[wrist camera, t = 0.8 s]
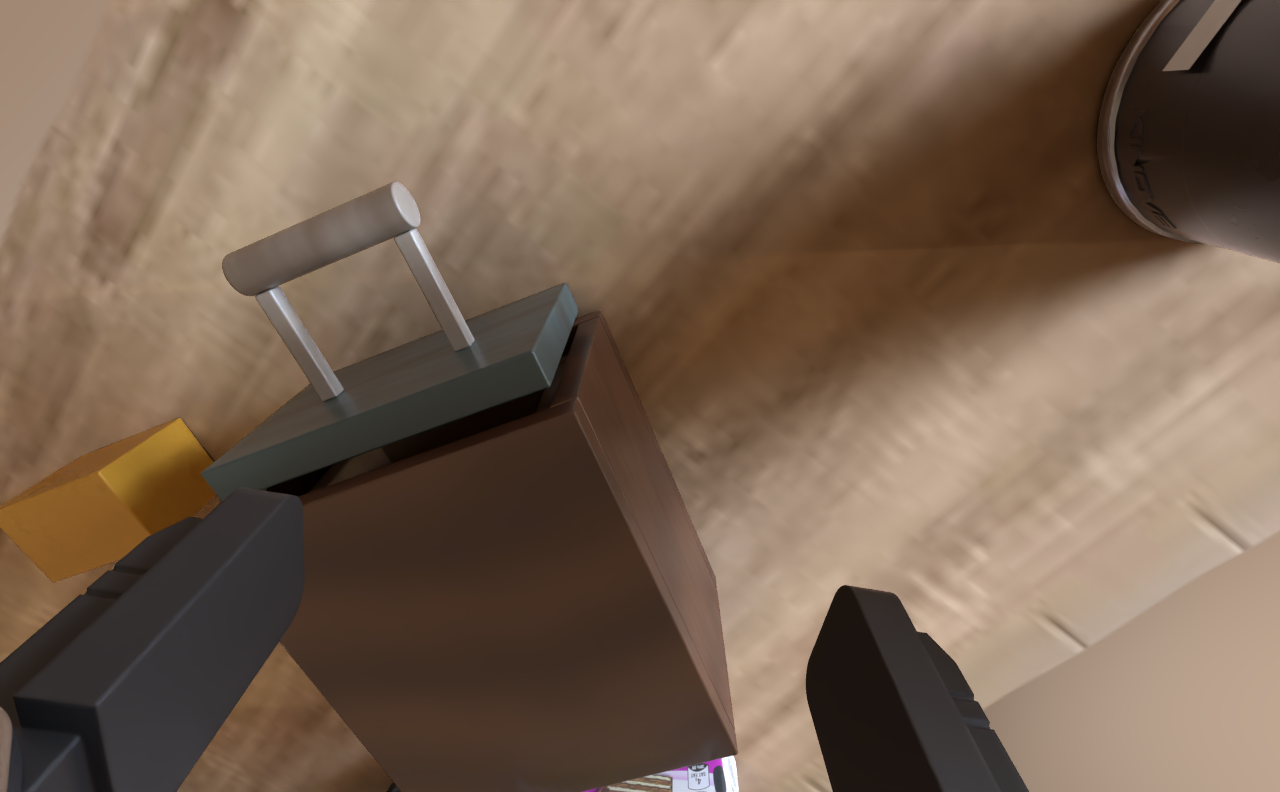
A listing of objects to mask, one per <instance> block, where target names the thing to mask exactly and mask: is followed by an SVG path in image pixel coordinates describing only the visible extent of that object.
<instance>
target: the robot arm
mask: <svg viewBox="0 0 1280 792" xmlns="http://www.w3.org/2000/svg"><path fill="white" fill-rule="evenodd" d="M1097 151H1098V159H1099V165H1100V170H1101V174H1102V177H1103V180H1104V182H1105V185H1106V188H1107V189H1108V191H1109V193H1110V195H1111V197H1112V199H1113V200H1114V201H1115V203H1116V204H1117V206H1118V207H1119V208H1120V209H1121V210H1122V211H1123V213H1124V214H1125V215H1126V216H1128V217H1129V218H1130V219H1131V220H1132V221H1134V222H1135V223H1137V224H1138V225H1140V226H1141V227H1143V228H1145V229H1147V230H1149V231H1151V232H1153V233H1156V234H1159V235H1162V236H1165V237H1169V238H1173V239H1177V240H1181V241H1185V242H1190V243H1199V244H1209V245H1213V246H1217V247H1221V248H1225V249H1229V250H1233V251H1236V252H1240V253H1244V254H1247V255H1250V256H1254V257H1258V258H1262V259H1265V260H1269V261H1273V262H1277V263H1280V0H1162V1H1161V2H1160V3H1159V4H1158V5H1157V6H1156V7H1155V8H1154V9H1153V10H1152V11H1151V13H1150V14H1149V15H1148V16H1147V17H1146V18H1145V20H1144V21H1143V22H1142V24H1141V25H1140V26H1139V28H1138V29H1137V31H1136V32H1135V33H1134V35H1133V36H1132V38H1131V39H1130V41H1129V43H1128V44H1127V46H1126V47H1125V49H1124V51H1123V53H1122V55H1121V56H1120V58H1119V60H1118V62H1117V64H1116V66H1115V68H1114V71H1113V73H1112V75H1111V77H1110V80H1109V83H1108V86H1107V89H1106V91H1105V94H1104V98H1103V102H1102V106H1101V110H1100V116H1099V122H1098V133H1097ZM303 589H304V531H303V506H302V502H301V500H300V498H299V497H298V496H294V495H288V494H282V493H276V492H269V491H263V490H257V489H251V488H244V487H242V488H238V489H236V490H235V491H233V492H232V493H231V494H230V495H229V496H228V497H226V498H225V499H224V500H223V501H222V502H221V503H220V504H219V505H218V506H217V507H216V508H215V509H214V510H212V511H211V512H210V513H209V514H208V515H207V516H206V517H205V518H204V519H201V518H195V517H188V518H186V519H183V520H181V521H179V522H177V523H175V524H173V525H171V526H169V527H167V528H165V529H163V530H161V531H159V532H157V533H154V534H152V535H150V536H148V537H146V538H145V539H144V540H143V541H142V542H141V543H139V544H138V545H137V546H136V547H135V548H134V549H133V550H131V551H130V552H129V553H128V554H127V555H126V556H124V557H123V558H122V559H121V560H120V561H119V562H117V563H116V564H115V567H114V569H113V571H109V570H108V571H107V572H106V573H105V574H103V575H102V576H101V577H100V578H99V579H98V580H96V581H95V582H94V583H93V584H92V585H91V586H89V587H88V588H87V592H86V594H85V595H79V596H78V597H77V598H75V599H74V600H73V601H72V602H71V603H70V604H68V605H67V606H66V607H65V608H64V609H63V610H61V611H60V612H59V613H58V614H57V615H56V616H54V617H53V618H52V619H51V620H50V621H49V622H47V623H46V624H45V625H44V626H43V627H42V628H41V629H39V630H38V631H37V632H36V633H35V634H34V635H32V636H31V637H30V638H29V639H28V640H27V641H25V642H24V643H23V644H22V645H21V646H20V647H18V648H17V649H16V650H15V651H14V652H13V653H11V654H10V655H9V656H8V657H7V658H6V659H4V660H3V661H2V662H1V663H0V792H176V791H177V790H178V788H179V787H180V785H181V784H182V782H183V781H184V780H185V778H186V777H187V775H188V774H189V772H190V771H191V769H192V768H193V766H194V765H195V764H196V762H197V761H198V759H199V758H200V756H201V755H202V753H203V752H204V750H205V749H206V747H207V746H208V745H209V743H210V742H211V740H212V739H213V737H214V736H215V734H216V733H217V731H218V730H219V728H220V727H221V726H222V724H223V723H224V721H225V720H226V718H227V717H228V715H229V714H230V712H231V711H232V710H233V708H234V707H235V705H236V704H237V702H238V701H239V699H240V698H241V696H242V695H243V693H244V692H245V691H246V689H247V688H248V686H249V685H250V683H251V682H252V680H253V679H254V677H255V676H256V674H257V673H258V672H259V670H260V669H261V667H262V666H263V664H264V663H265V661H266V660H267V658H268V657H269V656H270V654H271V653H272V651H273V650H274V648H275V647H276V645H277V644H278V642H279V641H280V639H281V638H282V637H283V635H284V634H285V632H286V631H287V629H288V628H289V626H290V625H291V623H292V621H293V619H294V617H295V615H296V613H297V610H298V608H299V605H300V602H301V598H302V594H303ZM806 694H807V700H808V705H809V708H810V712H811V715H812V719H813V723H814V726H815V730H816V733H817V737H818V740H819V744H820V747H821V751H822V755H823V758H824V762H825V765H826V769H827V772H828V776H829V779H830V783H831V787H832V790H833V792H1029V790H1028V789H1027V787H1026V785H1025V784H1024V782H1023V780H1022V778H1021V776H1020V775H1019V773H1018V771H1017V769H1016V768H1015V766H1014V764H1013V762H1012V761H1011V759H1010V757H1009V755H1008V754H1007V752H1006V750H1005V748H1004V747H1003V745H1002V743H1001V742H1000V740H999V738H998V736H997V734H996V733H995V731H994V730H991V729H990V727H989V723H990V722H989V720H988V719H987V717H986V715H985V713H984V712H983V710H982V708H981V706H980V705H979V703H978V702H977V701H974V694H973V692H972V690H971V689H970V687H969V685H968V683H967V682H966V680H965V678H964V676H963V675H962V673H961V671H960V669H959V668H958V666H957V664H956V663H955V661H954V660H953V659H952V658H951V657H950V656H949V655H948V654H947V653H946V652H945V651H944V650H943V649H942V648H941V647H940V646H939V645H938V644H937V643H936V642H935V641H934V640H933V639H932V638H931V637H930V636H929V635H928V634H927V633H922V632H917V631H916V629H915V627H914V626H913V624H912V622H911V620H910V618H909V616H908V614H907V612H906V610H905V609H904V607H903V605H902V603H901V601H900V600H899V598H898V597H897V596H896V595H895V594H894V593H890V592H884V591H878V590H872V589H866V588H859V587H853V586H847V585H844V586H842V587H840V588H839V589H838V590H837V592H836V594H835V596H834V598H833V601H832V603H831V606H830V608H829V611H828V613H827V616H826V618H825V621H824V623H823V626H822V628H821V631H820V633H819V636H818V638H817V641H816V643H815V646H814V648H813V651H812V653H811V656H810V658H809V662H808V666H807V673H806Z"/></svg>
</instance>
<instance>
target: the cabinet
mask: <svg viewBox="0 0 1280 792" xmlns="http://www.w3.org/2000/svg"><path fill="white" fill-rule="evenodd" d="M567 355H568V357H567V360H566V363H565V365H564V368H563V371H562V374H561V377H560V380H559V383H558V386H557V389H556V391H555V394H554V397H553V400H552V403H551V406H550V408H548V409H546V410H543V411H540V412H537V413H534V414H531V415H528V416H526V417H523V418H520V419H517V420H514V421H511V422H509V423H506V424H503V425H500V426H497V427H494V428H491V429H489V430H486V431H483V432H480V433H477V434H474V435H472V436H469V437H466V438H463V439H460V440H457V441H455V442H452V443H449V444H446V445H443V446H440V447H437V448H435V449H432V450H429V451H426V452H423V453H420V454H418V455H415V456H412V457H409V458H406V459H403V460H400V461H398V462H395V463H392V464H389V465H386V466H383V467H381V468H378V469H375V470H372V471H369V472H366V473H364V474H361V475H358V476H355V477H352V478H349V479H346V480H344V481H341V482H338V483H335V484H332V485H329V486H327V487H324V488H321V489H318V490H315V491H312V492H309V491H310V490H311V489H312V488H313V487H314V486H315V485H316V483H317V482H318V481H319V480H320V479H321V478H322V477H323V476H324V474H325V473H326V472H327V471H328V470H329V469H330V468H331V467H332V465H331V466H328V467H325V468H322V469H320V470H317V471H314V472H311V473H308V474H306V475H303V476H300V477H297V478H294V479H292V480H289V481H286V482H283V483H280V484H278V485H275V486H272V487H269V488H267V489H264V490H263V491H269V492H276V493H282V494H288V495H294V496H298V497H299V498H300V500H301V502H302V506H303V531H304V589H303V594H302V598H301V602H300V605H299V608H298V610H297V613H296V615H295V617H294V619H293V621H292V623H291V625H290V626H289V628H288V629H287V631H286V632H285V634H284V635H283V637H282V638H281V639H280V641H279V642H280V643H281V644H282V646H283V647H284V648H285V649H286V650H287V652H288V653H289V654H290V655H291V657H292V658H293V659H294V660H295V662H296V663H297V664H298V665H299V666H300V668H301V669H302V670H303V671H304V673H305V674H306V675H307V676H308V677H309V679H310V680H311V681H312V682H313V684H314V685H315V686H316V687H317V689H318V690H319V691H320V692H321V693H322V695H323V696H324V697H325V698H326V700H327V701H328V702H329V703H330V705H331V706H332V707H333V708H334V709H335V711H336V712H337V713H338V714H339V716H340V717H341V718H342V719H343V720H344V722H345V723H346V724H347V725H348V727H349V728H350V729H351V730H352V732H353V733H354V734H355V735H356V736H357V738H358V739H359V740H360V741H361V743H362V744H363V745H364V746H365V747H366V749H367V750H368V751H369V752H370V754H371V755H372V756H373V757H374V759H375V760H376V761H377V762H378V763H379V765H380V766H381V767H382V768H383V770H384V771H385V772H386V773H387V775H388V776H389V777H390V778H391V779H392V781H393V782H394V783H395V784H396V786H397V787H398V788H399V789H400V790H401V792H583V791H587V790H591V789H595V788H600V787H604V786H608V785H612V784H616V783H621V782H625V781H629V780H633V779H637V778H641V777H646V776H650V775H654V774H658V773H662V772H667V771H671V770H675V769H679V768H683V767H688V766H692V765H696V764H700V763H704V762H708V761H713V760H717V759H721V758H725V757H729V756H734V755H737V753H738V750H737V742H736V734H735V727H734V719H733V711H732V703H731V695H730V687H729V679H728V672H727V664H726V656H725V648H724V640H723V632H722V624H721V617H720V609H719V601H718V593H717V586H716V578H715V575H714V573H713V570H712V568H711V566H710V563H709V561H708V559H707V556H706V554H705V552H704V549H703V547H702V545H701V542H700V540H699V538H698V535H697V533H696V531H695V528H694V526H693V524H692V521H691V519H690V517H689V514H688V512H687V510H686V507H685V505H684V503H683V500H682V498H681V496H680V493H679V491H678V489H677V486H676V484H675V481H674V479H673V477H672V474H671V472H670V470H669V467H668V465H667V463H666V460H665V458H664V456H663V453H662V451H661V449H660V446H659V444H658V442H657V439H656V437H655V435H654V432H653V430H652V428H651V425H650V423H649V421H648V418H647V416H646V414H645V411H644V409H643V407H642V404H641V402H640V400H639V397H638V395H637V393H636V390H635V388H634V386H633V383H632V381H631V379H630V376H629V374H628V372H627V369H626V367H625V365H624V362H623V360H622V358H621V355H620V353H619V351H618V348H617V346H616V344H615V341H614V339H613V337H612V334H611V332H610V330H609V327H608V325H607V323H606V320H605V318H604V316H603V313H602V311H596V312H594V313H591V314H588V315H586V316H583V317H580V318H578V319H575V321H574V324H573V327H572V329H571V332H570V335H569V337H568V340H567V343H566V345H565V348H564V351H563V354H562V356H561V357H564V356H567ZM308 492H309V493H308Z"/></svg>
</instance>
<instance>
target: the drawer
mask: <svg viewBox="0 0 1280 792" xmlns="http://www.w3.org/2000/svg"><path fill="white" fill-rule="evenodd" d="M420 220H421V219H420V213H419V210H418V207H417V205H416V203H415V201H414V199H413V197H412V196H411V194H410V193H409V191H408V190H407V189H406V188H405V187H404V186H403V185H402V184H401V183H399V182H392V183H390V184H388V185H385V186H383V187H381V188H378V189H376V190H374V191H371V192H369V193H367V194H365V195H362V196H360V197H358V198H355V199H353V200H351V201H349V202H346V203H344V204H342V205H339V206H337V207H335V208H333V209H330V210H328V211H326V212H323V213H321V214H319V215H316V216H314V217H312V218H310V219H307V220H305V221H303V222H300V223H298V224H296V225H294V226H291V227H289V228H287V229H284V230H282V231H280V232H278V233H275V234H273V235H271V236H268V237H266V238H264V239H262V240H259V241H257V242H255V243H252V244H250V245H248V246H245V247H243V248H241V249H239V250H236V251H234V252H232V253H229V254H227V255H226V256H225V257H224V259H223V262H222V269H223V272H224V275H225V277H226V279H227V281H228V282H229V283H230V285H231V286H232V287H233V288H234V289H235V290H236V291H238V292H239V293H241V294H243V295H246V296H255V295H256V297H255V298H256V300H257V301H258V303H259V304H260V306H261V307H262V309H263V310H264V312H265V314H266V315H267V317H268V318H269V320H270V321H271V323H272V324H273V326H274V327H275V329H276V330H277V332H278V334H279V335H280V337H281V338H282V340H283V341H284V343H285V344H286V346H287V347H288V349H289V351H290V352H291V354H292V355H293V357H294V358H295V360H296V361H297V363H298V364H299V366H300V367H301V369H302V371H303V372H304V374H305V375H306V377H307V378H308V380H309V381H310V383H311V384H309V385H308V386H307V387H306V388H305V389H303V390H302V391H301V392H300V393H298V394H297V395H296V396H295V397H293V398H292V399H291V400H290V401H289V402H287V403H286V404H285V405H284V406H282V407H281V408H280V409H279V410H277V411H276V412H275V413H274V414H273V415H271V416H270V417H269V418H268V419H266V420H265V421H264V422H263V423H261V424H260V425H259V426H258V427H257V428H255V429H254V430H253V431H252V432H250V433H249V434H248V435H247V436H246V437H244V438H243V439H242V440H241V441H239V442H238V443H237V444H236V445H234V446H233V447H232V448H231V449H230V450H228V451H227V452H226V453H225V454H223V455H222V456H221V457H220V458H218V459H217V460H216V461H215V462H214V463H212V464H211V465H210V466H209V467H207V468H206V469H205V470H204V471H203V472H202V473H201V475H202V477H203V478H204V479H205V481H206V482H207V483H208V484H209V486H210V487H211V488H212V490H213V491H214V492H215V493H216V495H217V496H218V497H219V499H220V500H221V501H223V500H224V499H225V498H226V497H228V496H229V495H230V494H231V493H232V492H233V491H235V490H236V489H238V488H242V487H244V488H251V489H257V490H264V489H267V488H269V487H272V486H275V485H278V484H280V483H283V482H286V481H289V480H292V479H294V478H297V477H300V476H303V475H306V474H308V473H311V472H314V471H317V470H320V469H322V468H325V467H328V466H331V465H332V467H331V468H330V469H329V470H328V471H327V472H326V473H325V474H324V476H323V477H322V478H321V479H320V480H319V481H318V482H317V483H316V485H315V486H314V487H313V488H312V489H311V490H310V491H309V492H312V491H315V490H318V489H321V488H324V487H327V486H329V485H332V484H335V483H338V482H341V481H344V480H346V479H349V478H352V477H355V476H358V475H361V474H364V473H366V472H369V471H372V470H375V469H378V468H381V467H383V466H386V465H389V464H392V463H395V462H398V461H400V460H403V459H406V458H409V457H412V456H415V455H418V454H420V453H423V452H426V451H429V450H432V449H435V448H437V447H440V446H443V445H446V444H449V443H452V442H455V441H457V440H460V439H463V438H466V437H469V436H472V435H474V434H477V433H480V432H483V431H486V430H489V429H491V428H494V427H497V426H500V425H503V424H506V423H509V422H511V421H514V420H517V419H520V418H523V417H526V416H528V415H531V414H534V413H537V412H540V411H543V410H546V409H548V408H550V406H551V403H552V400H553V397H554V394H555V391H556V389H557V386H558V383H559V380H560V377H561V374H562V371H563V368H564V365H565V363H566V360H567V357H568V355H567V356H564V357H561V356H562V354H563V351H564V348H565V345H566V343H567V340H568V337H569V335H570V332H571V329H572V327H573V324H574V321H575V318H576V316H577V313H578V310H579V309H578V306H577V304H576V302H575V299H574V297H573V295H572V293H571V290H570V288H569V286H568V284H567V283H562V284H560V285H557V286H554V287H552V288H549V289H547V290H544V291H541V292H539V293H536V294H534V295H531V296H528V297H526V298H523V299H521V300H518V301H515V302H513V303H510V304H508V305H505V306H503V307H500V308H497V309H495V310H492V311H490V312H487V313H484V314H482V315H479V316H477V317H474V318H471V319H469V320H466V321H465V320H464V318H463V316H462V315H461V313H460V311H459V309H458V307H457V305H456V303H455V301H454V299H453V297H452V295H451V293H450V291H449V290H448V288H447V286H446V284H445V282H444V280H443V278H442V276H441V274H440V272H439V270H438V268H437V267H436V265H435V263H434V261H433V259H432V257H431V255H430V253H429V251H428V249H427V247H426V245H425V243H424V242H423V240H422V238H421V236H420V234H419V232H418V230H417V229H416V228H417V227H418V226H419V225H420ZM393 237H395V238H394V240H395V242H396V244H397V245H398V247H399V249H400V251H401V253H402V255H403V257H404V258H405V260H406V262H407V264H408V266H409V268H410V270H411V271H412V273H413V275H414V277H415V279H416V281H417V283H418V284H419V286H420V288H421V290H422V292H423V294H424V296H425V297H426V299H427V301H428V303H429V305H430V307H431V309H432V310H433V312H434V314H435V316H436V318H437V320H438V322H439V323H440V325H441V327H442V329H443V330H440V331H438V332H435V333H433V334H430V335H427V336H425V337H422V338H420V339H417V340H415V341H412V342H409V343H407V344H404V345H402V346H399V347H396V348H394V349H391V350H389V351H386V352H383V353H381V354H378V355H376V356H373V357H370V358H368V359H365V360H363V361H360V362H358V363H355V364H352V365H350V366H347V367H345V368H342V369H339V370H337V371H334V372H333V371H332V369H331V368H330V366H329V365H328V363H327V361H326V360H325V358H324V357H323V355H322V353H321V352H320V350H319V349H318V347H317V345H316V344H315V342H314V341H313V339H312V337H311V336H310V334H309V333H308V331H307V330H306V328H305V326H304V325H303V323H302V322H301V320H300V318H299V317H298V315H297V314H296V312H295V310H294V309H293V307H292V306H291V304H290V302H289V301H288V299H287V298H286V296H285V294H284V293H283V291H282V290H281V288H280V287H279V285H281V284H284V283H286V282H288V281H291V280H293V279H296V278H298V277H300V276H303V275H305V274H307V273H310V272H312V271H315V270H317V269H319V268H322V267H324V266H327V265H329V264H331V263H334V262H336V261H338V260H341V259H343V258H346V257H348V256H350V255H353V254H355V253H358V252H360V251H362V250H365V249H367V248H369V247H372V246H374V245H377V244H379V243H381V242H384V241H386V240H388V239H391V238H393ZM257 294H258V295H257ZM309 492H308V493H309Z"/></svg>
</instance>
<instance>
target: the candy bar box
mask: <svg viewBox="0 0 1280 792" xmlns="http://www.w3.org/2000/svg"><path fill="white" fill-rule="evenodd" d="M583 792H739V786H738V778H737V770H736V762H735V759H734V756H729V757H725V758H721V759H717V760H713V761H708V762H704V763H700V764H696V765H692V766H688V767H683V768H679V769H675V770H671V771H667V772H662V773H658V774H654V775H650V776H646V777H641V778H637V779H633V780H629V781H625V782H621V783H616V784H612V785H608V786H604V787H600V788H595V789H591V790H587V791H583Z"/></svg>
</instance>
